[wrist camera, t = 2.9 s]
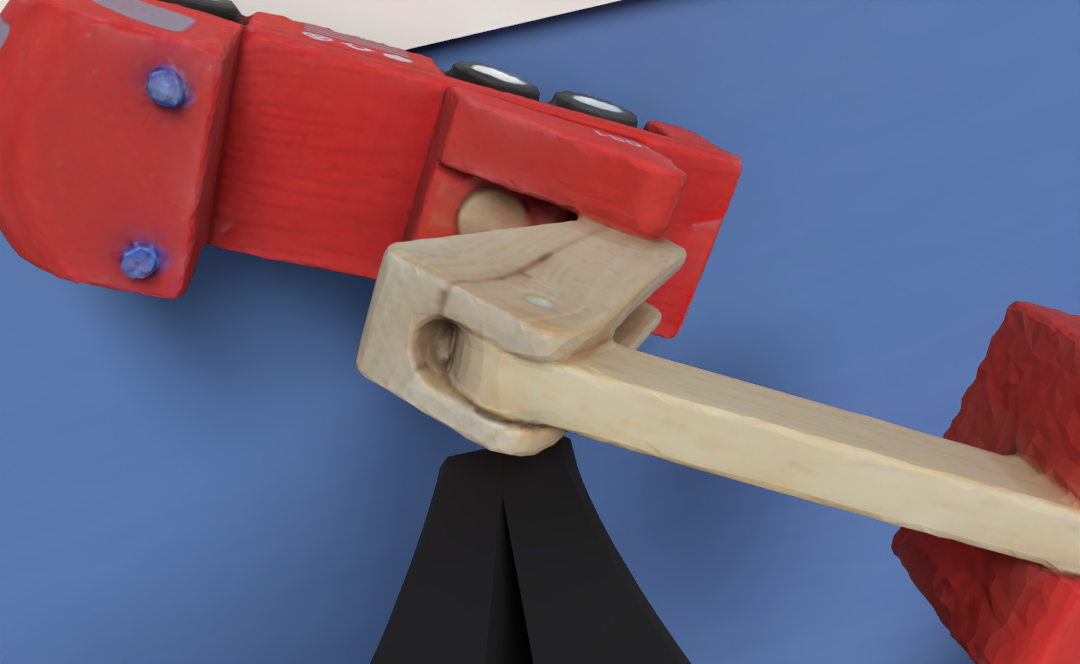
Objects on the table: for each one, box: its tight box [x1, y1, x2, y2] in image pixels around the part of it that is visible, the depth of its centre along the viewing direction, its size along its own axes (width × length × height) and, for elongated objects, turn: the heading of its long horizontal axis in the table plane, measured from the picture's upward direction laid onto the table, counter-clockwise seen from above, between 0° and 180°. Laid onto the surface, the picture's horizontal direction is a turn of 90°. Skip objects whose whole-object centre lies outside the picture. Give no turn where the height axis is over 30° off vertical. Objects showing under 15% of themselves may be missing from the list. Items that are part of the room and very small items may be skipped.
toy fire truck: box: [0, 0, 1080, 664], centre depth 11 cm, size 3×14×10 cm, turn 72°
